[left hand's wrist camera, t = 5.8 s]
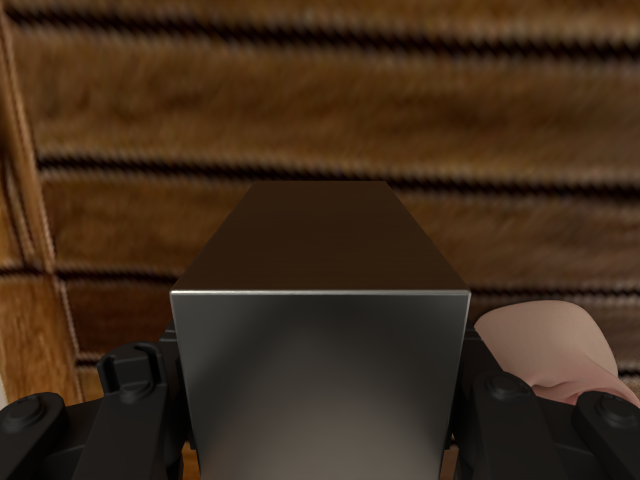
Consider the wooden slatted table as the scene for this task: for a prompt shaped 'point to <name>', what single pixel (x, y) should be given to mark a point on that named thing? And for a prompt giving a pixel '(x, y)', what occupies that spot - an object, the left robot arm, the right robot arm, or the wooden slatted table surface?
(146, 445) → the left robot arm
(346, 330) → the bar
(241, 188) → the wooden slatted table surface
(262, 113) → the wooden slatted table surface
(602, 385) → the anatomical model
